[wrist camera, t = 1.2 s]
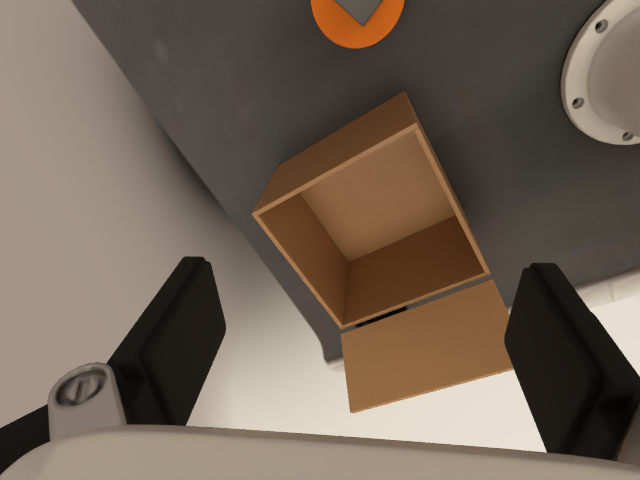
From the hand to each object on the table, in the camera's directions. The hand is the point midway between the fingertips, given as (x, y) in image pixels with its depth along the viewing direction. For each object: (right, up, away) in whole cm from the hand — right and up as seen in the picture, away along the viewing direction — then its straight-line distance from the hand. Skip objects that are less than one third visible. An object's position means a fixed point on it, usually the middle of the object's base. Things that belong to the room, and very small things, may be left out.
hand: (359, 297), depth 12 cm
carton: (+4, +7, +27) cm, 28 cm away
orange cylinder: (+2, +21, +18) cm, 28 cm away
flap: (+7, -7, +18) cm, 20 cm away
